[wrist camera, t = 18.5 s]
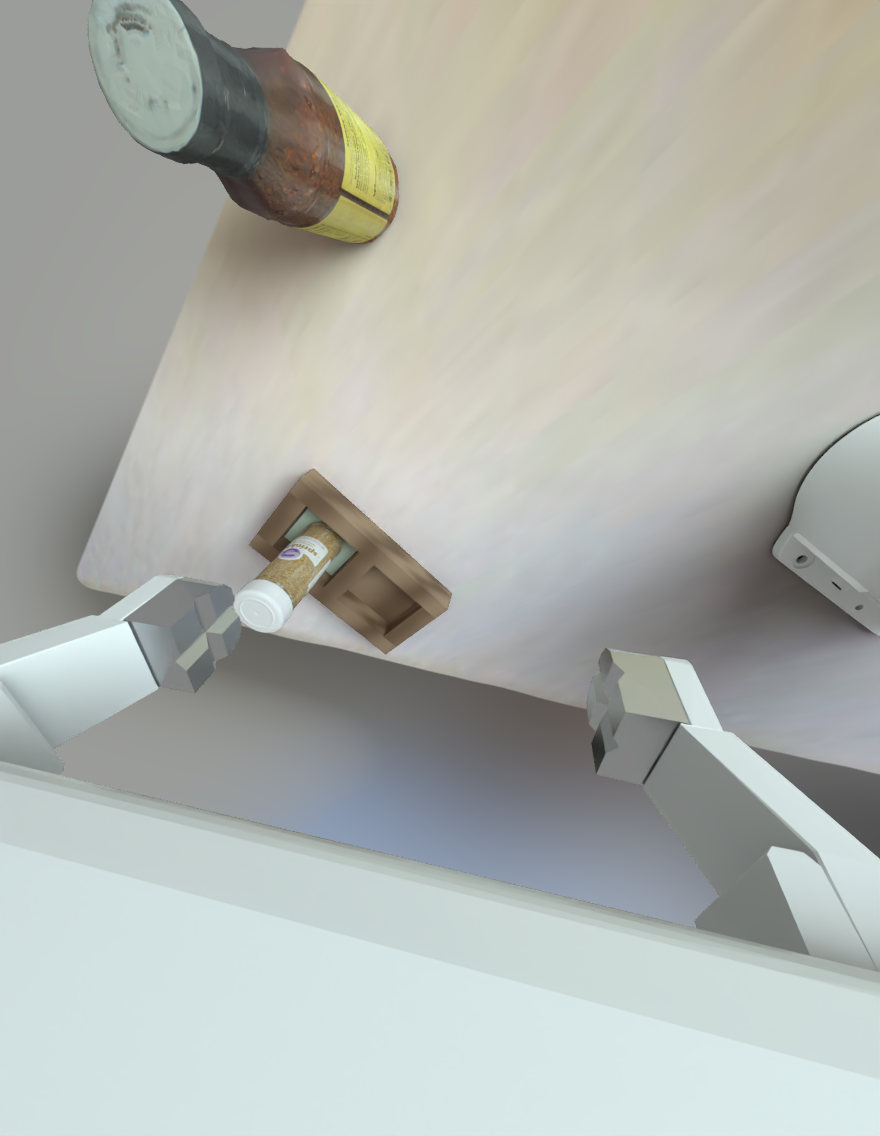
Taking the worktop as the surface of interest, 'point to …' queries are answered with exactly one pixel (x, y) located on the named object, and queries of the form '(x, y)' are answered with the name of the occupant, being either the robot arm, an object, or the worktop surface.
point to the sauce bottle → (243, 119)
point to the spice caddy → (357, 566)
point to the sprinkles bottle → (287, 579)
